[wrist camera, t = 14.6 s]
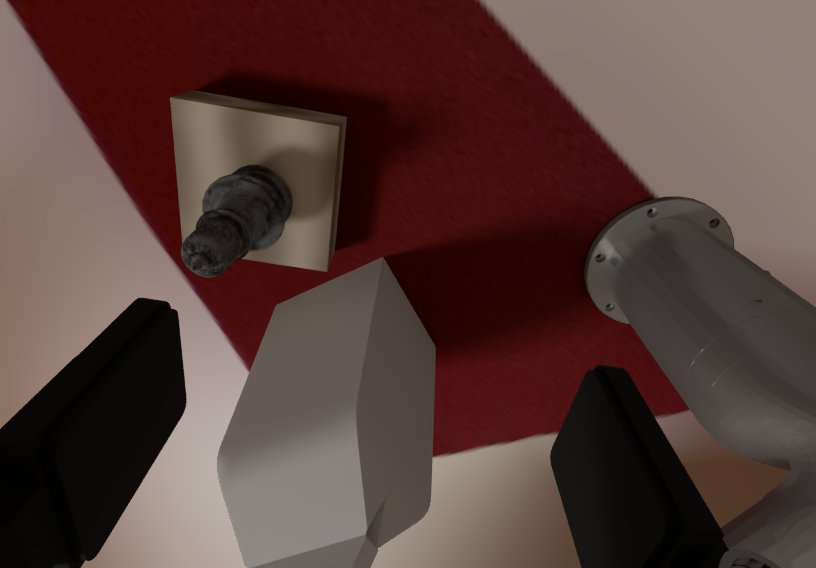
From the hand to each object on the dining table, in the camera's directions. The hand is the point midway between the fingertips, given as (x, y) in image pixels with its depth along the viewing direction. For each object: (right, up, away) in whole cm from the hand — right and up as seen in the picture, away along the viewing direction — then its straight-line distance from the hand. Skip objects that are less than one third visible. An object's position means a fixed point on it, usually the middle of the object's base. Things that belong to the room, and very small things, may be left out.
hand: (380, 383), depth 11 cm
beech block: (-11, +11, +29) cm, 33 cm away
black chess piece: (-11, +9, +26) cm, 29 cm away
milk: (-4, -2, +36) cm, 37 cm away
